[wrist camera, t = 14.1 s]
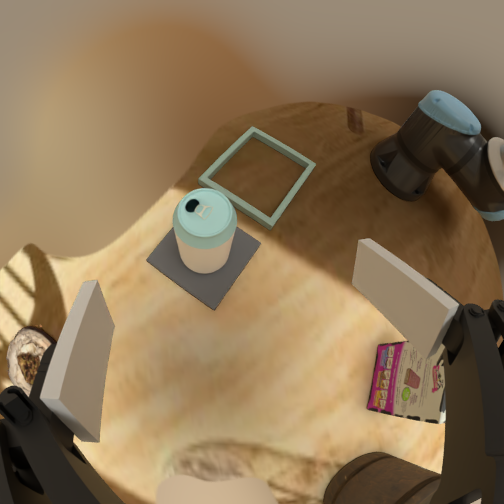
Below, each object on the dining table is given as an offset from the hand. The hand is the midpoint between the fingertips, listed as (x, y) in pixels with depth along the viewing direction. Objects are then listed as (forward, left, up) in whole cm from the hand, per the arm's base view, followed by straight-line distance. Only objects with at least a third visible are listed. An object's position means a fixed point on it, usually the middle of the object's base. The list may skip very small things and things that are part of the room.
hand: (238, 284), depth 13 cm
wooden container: (+12, +36, -26) cm, 46 cm away
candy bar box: (-7, +27, -26) cm, 38 cm away
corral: (-25, -9, -25) cm, 36 cm away
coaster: (-8, -8, -25) cm, 27 cm away
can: (-8, -8, -25) cm, 27 cm away
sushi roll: (+23, -19, -26) cm, 40 cm away
